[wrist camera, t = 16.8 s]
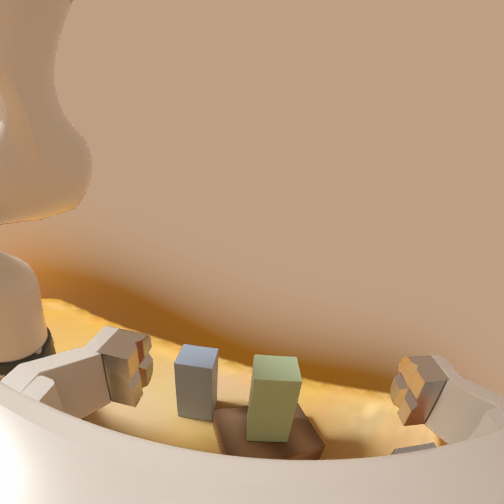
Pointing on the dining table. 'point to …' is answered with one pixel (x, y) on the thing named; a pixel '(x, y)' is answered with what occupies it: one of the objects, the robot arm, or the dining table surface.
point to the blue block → (196, 382)
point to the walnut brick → (234, 442)
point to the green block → (272, 398)
